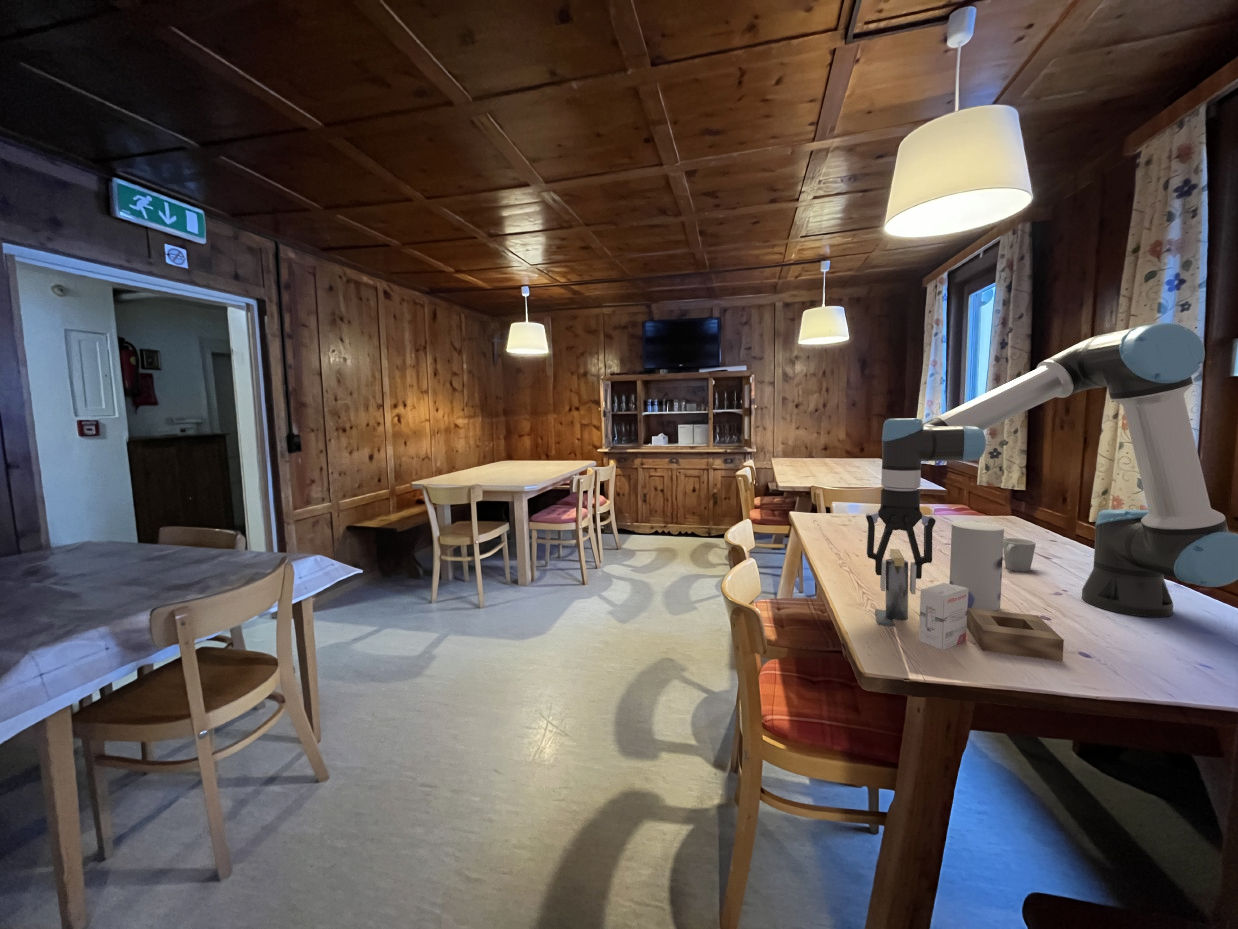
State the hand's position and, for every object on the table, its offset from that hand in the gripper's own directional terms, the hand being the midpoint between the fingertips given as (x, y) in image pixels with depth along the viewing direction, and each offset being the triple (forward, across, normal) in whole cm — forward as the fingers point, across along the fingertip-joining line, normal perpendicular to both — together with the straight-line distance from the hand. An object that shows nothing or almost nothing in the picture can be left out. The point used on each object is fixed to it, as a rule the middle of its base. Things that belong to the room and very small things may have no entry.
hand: (897, 590), depth 110 cm
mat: (+7, 0, 0) cm, 7 cm away
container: (+7, -18, -15) cm, 25 cm away
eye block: (+7, -19, +7) cm, 21 cm away
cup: (+7, -37, -53) cm, 65 cm away
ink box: (+7, -7, +10) cm, 14 cm away
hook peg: (+6, 0, 0) cm, 6 cm away
